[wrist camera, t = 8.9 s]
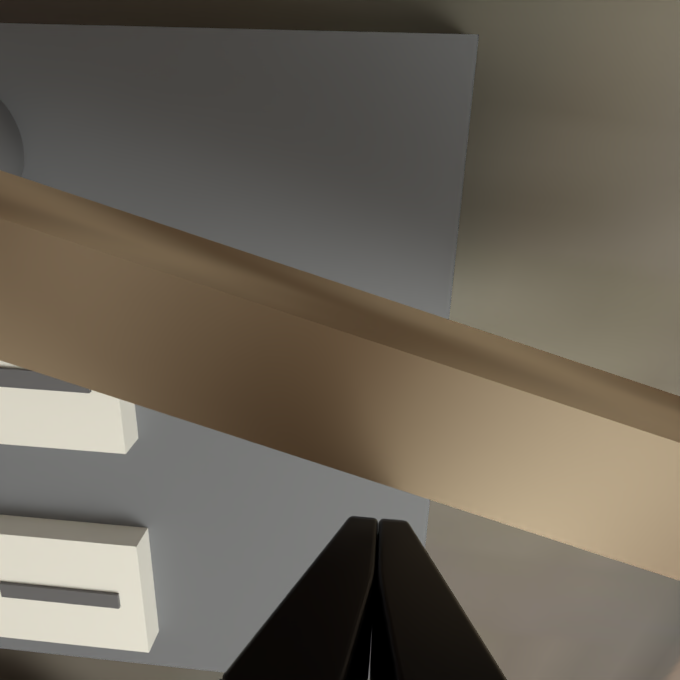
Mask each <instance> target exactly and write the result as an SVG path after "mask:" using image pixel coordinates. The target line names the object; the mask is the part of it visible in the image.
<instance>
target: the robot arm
mask: <svg viewBox="0 0 680 680" xmlns="http://www.w3.org/2000/svg"><path fill="white" fill-rule="evenodd" d="M371 635H372V636H371ZM370 650H371V654H370ZM369 665H370V679H369V680H507V679H506V677H505V676H504V674H503V673H502V671H501V669H500V668H499V666H498V665H497V663H496V661H495V660H494V658H493V657H492V655H491V653H490V652H489V650H488V649H487V647H486V646H485V644H484V642H483V641H482V639H481V638H480V636H479V634H478V633H477V631H476V630H475V628H474V626H473V625H472V623H471V622H470V620H469V618H468V617H467V615H466V614H465V612H464V610H463V609H462V607H461V606H460V604H459V602H458V601H457V599H456V598H455V596H454V594H453V593H452V591H451V590H450V588H449V586H448V585H447V583H446V582H445V580H444V578H443V577H442V575H441V574H440V572H439V570H438V569H437V567H436V566H435V564H434V562H433V561H432V559H431V558H430V556H429V555H428V553H427V551H426V550H425V548H424V547H423V545H422V543H421V542H420V540H419V539H418V537H417V535H416V534H415V532H414V531H413V529H412V527H411V526H410V524H409V523H408V522H407V521H405V520H396V519H381V520H380V521H379V523H378V521H377V519H376V518H373V517H361V516H351V517H349V518H348V519H347V520H346V522H345V523H344V524H343V525H342V527H341V528H340V529H339V530H338V532H337V533H336V534H335V535H334V537H333V538H332V539H331V540H330V542H329V543H328V544H327V545H326V547H325V548H324V549H323V550H322V552H321V553H320V554H319V555H318V557H317V558H316V559H315V560H314V562H313V563H312V564H311V565H310V567H309V568H308V569H307V570H306V572H305V573H304V574H303V575H302V577H301V578H300V579H299V580H298V582H297V583H296V584H295V585H294V587H293V588H292V589H291V590H290V592H289V593H288V594H287V595H286V597H285V598H284V599H283V600H282V602H281V603H280V604H279V605H278V607H277V608H276V609H275V610H274V612H273V613H272V614H271V615H270V617H269V618H268V619H267V620H266V622H265V623H264V624H263V625H262V627H261V628H260V629H259V630H258V632H257V633H256V634H255V635H254V637H253V638H252V639H251V640H250V642H249V643H248V644H247V645H246V647H245V648H244V649H243V650H242V652H241V653H240V654H239V655H238V657H237V658H236V659H235V660H234V662H233V663H232V664H231V665H230V667H229V668H228V669H227V670H226V672H225V673H224V674H223V679H219V680H368V676H369Z"/></svg>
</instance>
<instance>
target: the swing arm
mask: <svg viewBox="0 0 680 680" xmlns="http://www.w3.org/2000/svg"><path fill="white" fill-rule="evenodd" d="M0 361H4V362H7V363H10V364H13V365H16V366H19V367H22V368H25V369H28V370H31V371H34V372H38V373H41V374H44V375H47V376H50V377H53V378H56V379H59V380H62V381H65V382H68V383H71V384H75V385H78V386H81V387H84V388H87V389H90V390H93V391H96V392H99V393H102V394H105V395H108V396H112V397H115V398H118V399H121V400H124V401H127V402H130V403H133V404H136V405H139V406H142V407H145V408H149V409H152V410H155V411H158V412H161V413H164V414H167V415H170V416H173V417H176V418H179V419H183V420H186V421H189V422H192V423H195V424H198V425H201V426H204V427H207V428H210V429H213V430H216V431H220V432H223V433H226V434H229V435H232V436H235V437H238V438H241V439H244V440H247V441H250V442H253V443H257V444H260V445H263V446H266V447H269V448H272V449H275V450H278V451H281V452H284V453H287V454H290V455H294V456H297V457H300V458H303V459H306V460H309V461H312V462H315V463H318V464H321V465H324V466H327V467H331V468H334V469H337V470H340V471H343V472H346V473H349V474H352V475H355V476H358V477H361V478H365V479H368V480H371V481H374V482H377V483H380V484H383V485H386V486H389V487H392V488H395V489H398V490H402V491H405V492H408V493H411V494H414V495H417V496H420V497H423V498H426V499H429V500H432V501H435V502H439V503H442V504H445V505H448V506H451V507H454V508H457V509H460V510H463V511H466V512H469V513H472V514H476V515H479V516H482V517H485V518H488V519H491V520H494V521H497V522H500V523H503V524H506V525H509V526H513V527H516V528H519V529H522V530H525V531H528V532H531V533H534V534H537V535H540V536H543V537H547V538H550V539H553V540H556V541H559V542H562V543H565V544H568V545H571V546H574V547H577V548H580V549H584V550H587V551H590V552H593V553H596V554H599V555H602V556H605V557H608V558H611V559H614V560H617V561H621V562H624V563H627V564H630V565H633V566H636V567H639V568H642V569H645V570H648V571H651V572H654V573H658V574H661V575H664V576H667V577H670V578H673V579H676V580H679V581H680V396H677V395H674V394H671V393H668V392H665V391H662V390H659V389H656V388H653V387H650V386H647V385H644V384H641V383H638V382H635V381H632V380H629V379H626V378H623V377H620V376H617V375H614V374H611V373H608V372H605V371H602V370H599V369H596V368H593V367H590V366H587V365H584V364H581V363H578V362H575V361H572V360H569V359H566V358H563V357H560V356H557V355H554V354H551V353H548V352H545V351H542V350H539V349H536V348H533V347H530V346H527V345H524V344H521V343H518V342H515V341H512V340H509V339H506V338H503V337H500V336H497V335H494V334H491V333H488V332H485V331H482V330H479V329H476V328H473V327H470V326H467V325H464V324H461V323H458V322H455V321H452V320H449V319H446V318H443V317H440V316H437V315H434V314H431V313H428V312H425V311H422V310H419V309H416V308H413V307H410V306H407V305H404V304H401V303H398V302H395V301H392V300H389V299H386V298H383V297H380V296H377V295H374V294H371V293H368V292H365V291H362V290H359V289H356V288H353V287H350V286H347V285H344V284H341V283H338V282H335V281H332V280H329V279H326V278H323V277H320V276H317V275H314V274H311V273H308V272H305V271H301V270H298V269H295V268H292V267H289V266H286V265H283V264H280V263H277V262H274V261H271V260H268V259H265V258H262V257H259V256H256V255H253V254H250V253H247V252H244V251H241V250H238V249H235V248H232V247H229V246H226V245H223V244H220V243H217V242H214V241H211V240H208V239H205V238H202V237H199V236H196V235H193V234H190V233H187V232H184V231H181V230H178V229H175V228H172V227H169V226H166V225H163V224H160V223H157V222H154V221H151V220H148V219H145V218H142V217H139V216H136V215H133V214H130V213H127V212H124V211H121V210H118V209H115V208H112V207H109V206H106V205H103V204H100V203H97V202H94V201H91V200H88V199H85V198H82V197H79V196H76V195H73V194H70V193H67V192H64V191H61V190H58V189H55V188H52V187H49V186H46V185H43V184H40V183H37V182H34V181H31V180H28V179H25V178H22V177H19V176H16V175H13V174H10V173H7V172H4V171H1V170H0Z"/></svg>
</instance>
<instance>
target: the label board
mask: <svg viewBox="0 0 680 680" xmlns="http://www.w3.org/2000/svg"><path fill="white" fill-rule="evenodd" d="M478 38H479V35H478V34H436V33H395V32H353V31H312V30H270V29H229V28H187V27H146V26H104V25H63V24H21V23H0V170H1V171H4V172H7V173H10V174H13V175H16V176H19V177H22V178H25V179H28V180H31V181H34V182H37V183H40V184H43V185H46V186H49V187H52V188H55V189H58V190H61V191H64V192H67V193H70V194H73V195H76V196H79V197H82V198H85V199H88V200H91V201H94V202H97V203H100V204H103V205H106V206H109V207H112V208H115V209H118V210H121V211H124V212H127V213H130V214H133V215H136V216H139V217H142V218H145V219H148V220H151V221H154V222H157V223H160V224H163V225H166V226H169V227H172V228H175V229H178V230H181V231H184V232H187V233H190V234H193V235H196V236H199V237H202V238H205V239H208V240H211V241H214V242H217V243H220V244H223V245H226V246H229V247H232V248H235V249H238V250H241V251H244V252H247V253H250V254H253V255H256V256H259V257H262V258H265V259H268V260H271V261H274V262H277V263H280V264H283V265H286V266H289V267H292V268H295V269H298V270H301V271H305V272H308V273H311V274H314V275H317V276H320V277H323V278H326V279H329V280H332V281H335V282H338V283H341V284H344V285H347V286H350V287H353V288H356V289H359V290H362V291H365V292H368V293H371V294H374V295H377V296H380V297H383V298H386V299H389V300H392V301H395V302H398V303H401V304H404V305H407V306H410V307H413V308H416V309H419V310H422V311H425V312H428V313H431V314H434V315H437V316H440V317H443V318H446V319H449V314H450V305H451V295H452V286H453V276H454V267H455V257H456V248H457V238H458V229H459V219H460V209H461V200H462V190H463V181H464V171H465V162H466V152H467V143H468V133H469V124H470V114H471V105H472V95H473V86H474V76H475V67H476V57H477V48H478ZM429 504H430V500H429V499H426V498H423V497H420V496H417V495H414V494H411V493H408V492H405V491H402V490H398V489H395V488H392V487H389V486H386V485H383V484H380V483H377V482H374V481H371V480H368V479H365V478H361V477H358V476H355V475H352V474H349V473H346V472H343V471H340V470H337V469H334V468H331V467H327V466H324V465H321V464H318V463H315V462H312V461H309V460H306V459H303V458H300V457H297V456H294V455H290V454H287V453H284V452H281V451H278V450H275V449H272V448H269V447H266V446H263V445H260V444H257V443H253V442H250V441H247V440H244V439H241V438H238V437H235V436H232V435H229V434H226V433H223V432H220V431H216V430H213V429H210V428H207V427H204V426H201V425H198V424H195V423H192V422H189V421H186V420H183V419H179V418H176V417H173V416H170V415H167V414H164V413H161V412H158V411H155V410H152V409H149V408H145V407H142V406H139V405H136V404H133V403H130V402H127V401H124V400H121V399H118V398H115V397H112V396H108V395H105V394H102V393H99V392H96V391H93V390H90V389H87V388H84V387H81V386H78V385H75V384H71V383H68V382H65V381H62V380H59V379H56V378H53V377H50V376H47V375H44V374H41V373H38V372H34V371H31V370H28V369H25V368H22V367H19V366H16V365H13V364H10V363H7V362H4V361H0V648H3V649H12V650H22V651H31V652H40V653H49V654H59V655H68V656H77V657H86V658H96V659H105V660H114V661H123V662H133V663H142V664H151V665H160V666H170V667H179V668H188V669H197V670H206V671H216V672H226V670H227V669H228V668H229V667H230V665H231V664H232V663H233V662H234V660H235V659H236V658H237V657H238V655H239V654H240V653H241V652H242V650H243V649H244V648H245V647H246V645H247V644H248V643H249V642H250V640H251V639H252V638H253V637H254V635H255V634H256V633H257V632H258V630H259V629H260V628H261V627H262V625H263V624H264V623H265V622H266V620H267V619H268V618H269V617H270V615H271V614H272V613H273V612H274V610H275V609H276V608H277V607H278V605H279V604H280V603H281V602H282V600H283V599H284V598H285V597H286V595H287V594H288V593H289V592H290V590H291V589H292V588H293V587H294V585H295V584H296V583H297V582H298V580H299V579H300V578H301V577H302V575H303V574H304V573H305V572H306V570H307V569H308V568H309V567H310V565H311V564H312V563H313V562H314V560H315V559H316V558H317V557H318V555H319V554H320V553H321V552H322V550H323V549H324V548H325V547H326V545H327V544H328V543H329V542H330V540H331V539H332V538H333V537H334V535H335V534H336V533H337V532H338V530H339V529H340V528H341V527H342V525H343V524H344V523H345V522H346V520H347V519H348V518H349V517H351V516H361V517H373V518H376V519H377V521H378V523H379V521H380V520H381V519H396V520H405V521H407V522H408V523H409V524H410V526H411V527H412V529H413V531H414V532H415V534H416V535H417V537H418V539H419V540H420V542H421V543H422V545H423V547H424V548H425V543H426V533H427V524H428V514H429ZM371 636H372V635H371ZM370 654H371V650H370ZM369 679H370V665H369V676H368V680H369Z"/></svg>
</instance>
